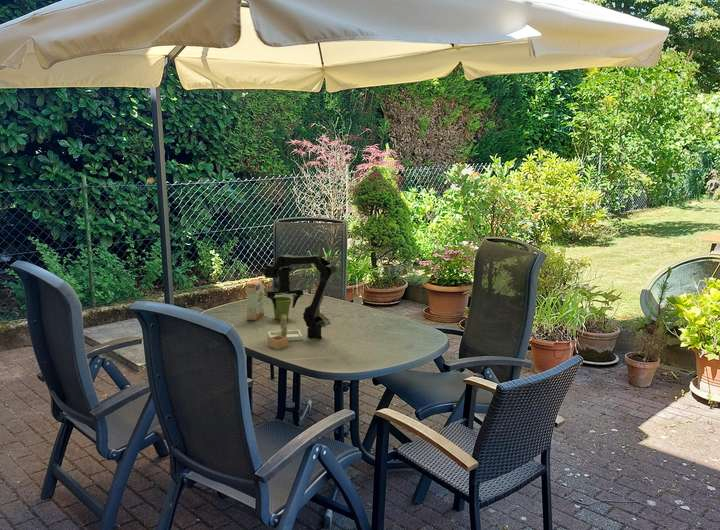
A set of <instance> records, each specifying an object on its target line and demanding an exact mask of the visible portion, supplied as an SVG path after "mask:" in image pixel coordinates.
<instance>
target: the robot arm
mask: <svg viewBox="0 0 720 530" xmlns="http://www.w3.org/2000/svg"><path fill="white" fill-rule="evenodd" d="M306 264H307V265H309V264H313V265H314V266H315V268H316V269H317V271H318V272H320V274H319V283H318V286H317V288H316V292H315V293H314V296H313V299H312V302H311V304H310V305H308V306H306V307H305V309H304V312H303V313H302V315H303V317H302V318H303V321H304V322H305V325H306V327H307V328H306V334H307V335H306V336H307V337H308V338H309V339H316V340H317V339H322V338H323V336H322V324H323V323H324V322H323V319H322V318H321V317H320V316H319V313H320V309H321V307H320V306H321V304H322V302H323V299H324V296H325V293H326V290H327V289H328V287H329V284H330V282H331V281H332V279H333V278H335V275H336V274H337V271H338V270H337V267H336V265H334V264H332V263H331V262H329V261H328V260H326V259H325V258H323V256H321V255H320V254H316V255H297V256H296V255H292V254H283V255H279V256H278V257H277V258H276V262H275V263H274V264H267V265H265V268H264V271H263V275H264V277H265V278H267V279H277V280H278V281H273V282H272V284H273V285H272V287H273V289H266V290H264V296H266V298H268V299H270V300H271V303H272V302H273V304H272V306H273V305H274V308H275V310H276V298H275V297H276V296H279V295H280V296H283V295H292V309H295V306H296V304H297V302H298V300H299V298H301V296H304V290H303V289H302V288H301V287H293V289H292V290H291V279H290V277H291V275H290V273H291V272H293V271H294V268H292V265H293V266H294V265H306ZM274 289H275V290H274ZM274 308H273V309H274Z"/></svg>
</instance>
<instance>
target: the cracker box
mask: <svg viewBox="0 0 720 530" xmlns="http://www.w3.org/2000/svg"><path fill="white" fill-rule="evenodd" d="M246 312H247V313H246V315H247V316H246V319H247V320H248V321H257V320H258V319H260V318H262V316H264V315H265V280H264V279H261V278H260V279H259V278H255V279H253V280H251V281H249V282H248V283H246ZM263 314H264V315H263Z"/></svg>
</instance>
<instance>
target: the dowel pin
mask: <svg viewBox="0 0 720 530" xmlns="http://www.w3.org/2000/svg"><path fill="white" fill-rule="evenodd" d="M287 320H288V318H287V315H286V314H281V319H280V331H281V336H284V337H287V330H288V329H287V328H288V327H287V324H288V323H287Z"/></svg>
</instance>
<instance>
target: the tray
mask: <svg viewBox="0 0 720 530" xmlns="http://www.w3.org/2000/svg"><path fill="white" fill-rule="evenodd" d="M278 335H281V330H273V331H267V337H268V338H270V337H274V336H278ZM303 337H304V336H303V334H302V333H301V331H300V329H287V338H288V342H292V341H293V342H296V341H303V339H304V338H303Z"/></svg>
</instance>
